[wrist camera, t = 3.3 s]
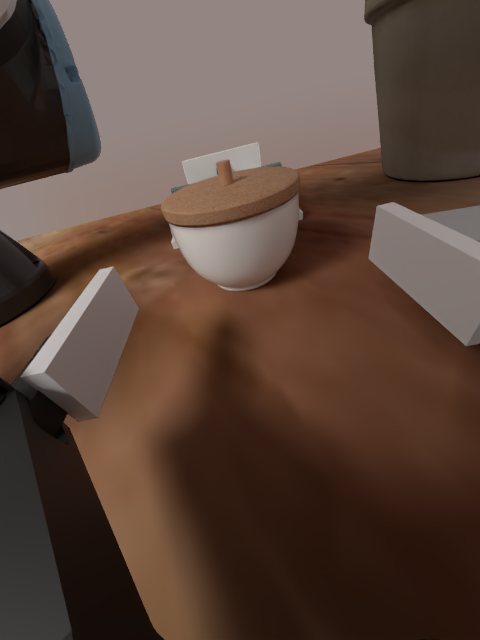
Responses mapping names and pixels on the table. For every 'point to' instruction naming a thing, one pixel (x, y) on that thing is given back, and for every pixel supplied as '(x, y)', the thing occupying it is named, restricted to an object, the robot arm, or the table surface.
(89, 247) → the table surface
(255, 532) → the table surface
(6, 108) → the robot arm
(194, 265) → the lidded jar
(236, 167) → the pusher lane
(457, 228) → the tablet
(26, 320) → the table surface
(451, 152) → the plant pot
